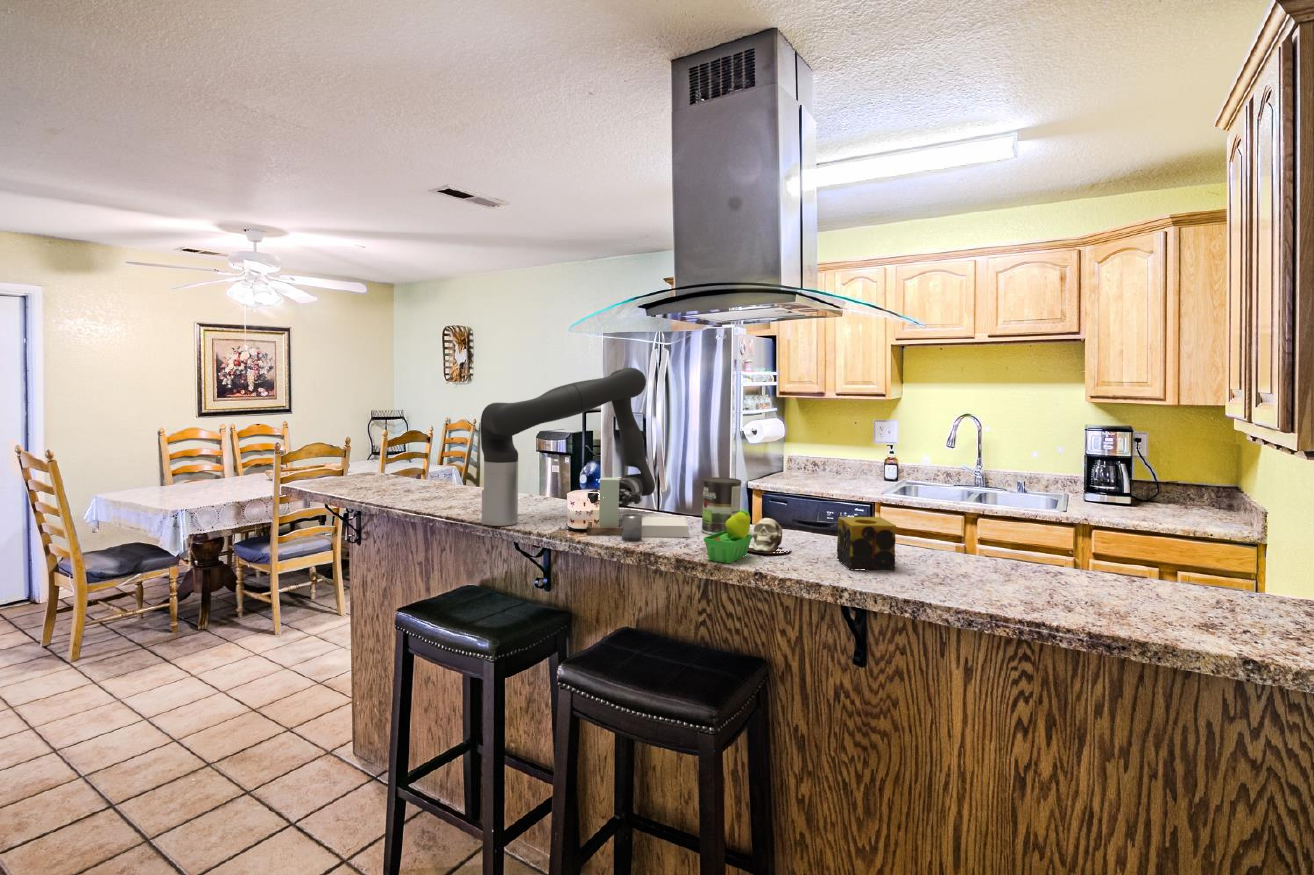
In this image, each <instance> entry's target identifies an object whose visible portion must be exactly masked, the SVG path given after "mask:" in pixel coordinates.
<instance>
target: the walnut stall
mask: <svg viewBox="0 0 1314 875" xmlns="http://www.w3.org/2000/svg"><path fill="white" fill-rule="evenodd" d="M586 536H621V537H622V526H618V527H599V526H593V527H592V522H589V521H588V523H587V526H586Z"/></svg>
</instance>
